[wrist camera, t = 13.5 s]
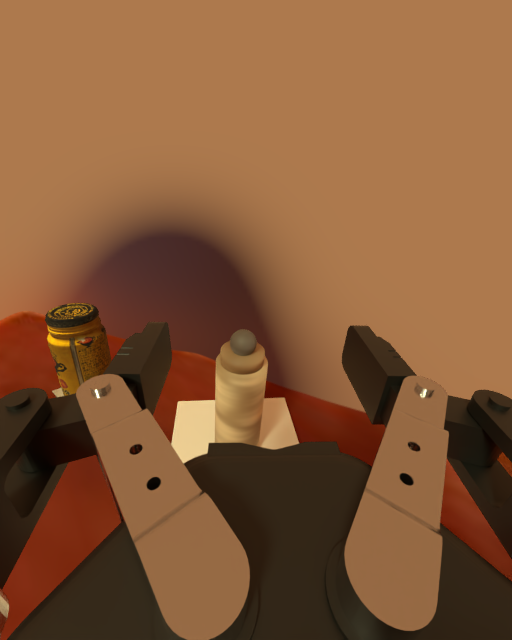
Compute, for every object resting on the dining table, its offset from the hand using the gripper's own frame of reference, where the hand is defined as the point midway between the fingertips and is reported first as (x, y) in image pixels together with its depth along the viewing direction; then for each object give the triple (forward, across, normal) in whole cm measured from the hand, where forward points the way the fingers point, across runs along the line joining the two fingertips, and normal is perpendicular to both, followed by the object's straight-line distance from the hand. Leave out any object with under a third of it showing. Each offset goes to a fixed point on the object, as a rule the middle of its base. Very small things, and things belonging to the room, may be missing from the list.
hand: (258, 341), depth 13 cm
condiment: (+20, +20, +21) cm, 35 cm away
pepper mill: (+10, +1, +20) cm, 22 cm away
